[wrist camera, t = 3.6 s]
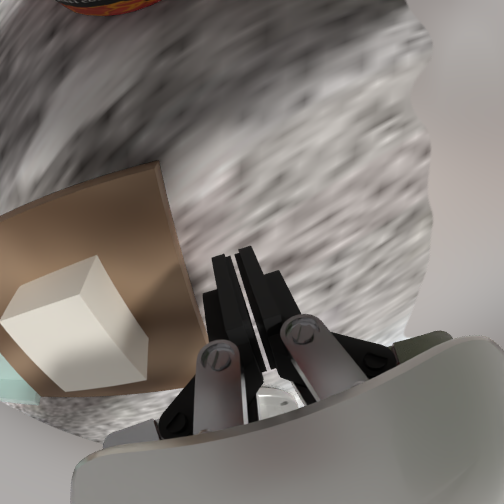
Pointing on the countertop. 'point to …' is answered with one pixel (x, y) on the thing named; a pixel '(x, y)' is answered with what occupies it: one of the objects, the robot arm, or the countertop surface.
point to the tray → (15, 386)
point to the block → (78, 328)
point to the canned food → (106, 6)
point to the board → (109, 270)
